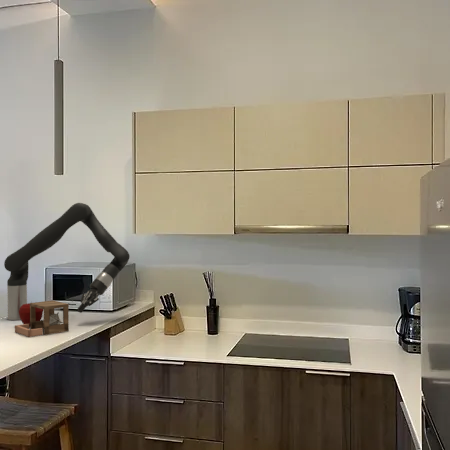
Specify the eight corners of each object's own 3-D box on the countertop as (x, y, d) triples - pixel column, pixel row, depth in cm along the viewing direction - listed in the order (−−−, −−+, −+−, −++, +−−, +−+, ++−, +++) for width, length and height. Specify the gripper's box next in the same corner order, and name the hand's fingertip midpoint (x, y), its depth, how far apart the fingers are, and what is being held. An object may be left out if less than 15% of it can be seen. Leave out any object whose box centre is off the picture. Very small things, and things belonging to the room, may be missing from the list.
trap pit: (14, 332, 227) (14, 325, 227) (28, 330, 231) (28, 323, 231) (28, 337, 216) (28, 330, 216) (42, 335, 221) (42, 328, 221)
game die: (47, 338, 231) (38, 319, 234) (65, 329, 235) (56, 311, 238) (46, 332, 224) (37, 313, 227) (65, 323, 227) (55, 304, 231)
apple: (43, 323, 248) (43, 299, 248) (44, 327, 238) (43, 302, 238) (18, 325, 244) (18, 300, 244) (18, 329, 234) (18, 303, 234)
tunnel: (30, 329, 232) (29, 303, 232) (53, 326, 240) (52, 300, 240) (45, 335, 221) (45, 306, 221) (68, 331, 228) (68, 304, 228)
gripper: (89, 277, 252) (66, 305, 243) (103, 279, 242) (80, 308, 234) (99, 287, 255) (77, 314, 247) (113, 289, 246) (90, 318, 237)
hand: (78, 311), depth 240 cm, fingers closed
